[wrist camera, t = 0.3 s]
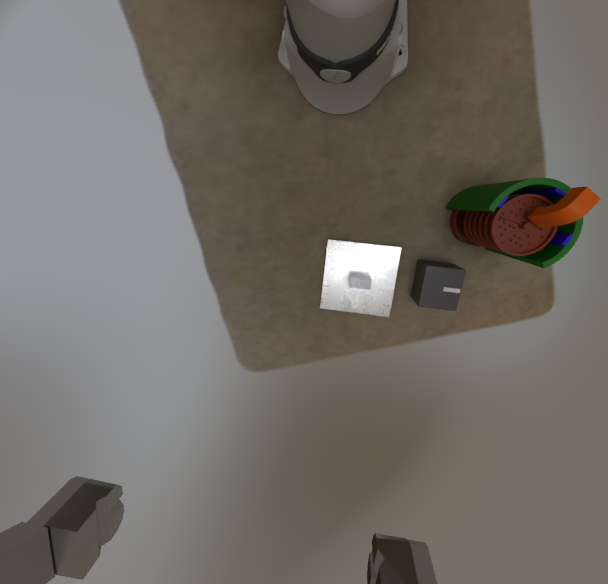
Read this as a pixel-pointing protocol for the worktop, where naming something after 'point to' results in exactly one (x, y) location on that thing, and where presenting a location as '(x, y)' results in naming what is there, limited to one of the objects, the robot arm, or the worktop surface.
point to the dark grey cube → (437, 285)
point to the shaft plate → (362, 265)
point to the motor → (522, 218)
